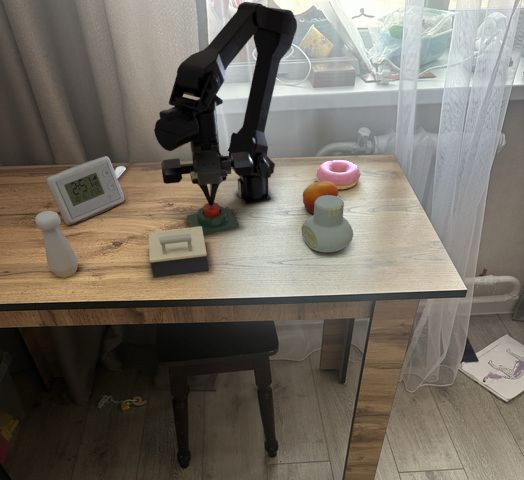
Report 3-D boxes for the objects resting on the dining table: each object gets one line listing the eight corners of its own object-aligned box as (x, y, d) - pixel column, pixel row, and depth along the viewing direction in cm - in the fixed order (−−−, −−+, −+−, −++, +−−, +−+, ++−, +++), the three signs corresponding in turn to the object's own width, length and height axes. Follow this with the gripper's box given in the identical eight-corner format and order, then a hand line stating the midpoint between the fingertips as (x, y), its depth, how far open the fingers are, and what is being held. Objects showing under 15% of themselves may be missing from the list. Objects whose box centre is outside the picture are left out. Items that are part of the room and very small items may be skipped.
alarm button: (217, 208, 115) (216, 201, 113) (222, 215, 112) (221, 208, 111) (202, 211, 114) (201, 204, 113) (206, 218, 111) (205, 211, 110)
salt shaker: (55, 264, 105) (33, 207, 96) (82, 262, 105) (64, 205, 96) (49, 281, 101) (26, 223, 91) (78, 279, 101) (58, 221, 92)
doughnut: (320, 170, 133) (321, 154, 130) (362, 174, 130) (364, 158, 128) (311, 189, 125) (312, 173, 122) (356, 194, 123) (358, 178, 120)
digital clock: (65, 229, 115) (51, 186, 107) (52, 211, 120) (38, 168, 112) (131, 208, 121) (123, 166, 113) (117, 192, 126) (107, 151, 118)
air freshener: (297, 237, 110) (298, 194, 103) (330, 227, 112) (333, 185, 105) (321, 262, 103) (324, 219, 96) (356, 252, 105) (361, 209, 98)
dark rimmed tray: (208, 271, 102) (206, 254, 99) (153, 278, 100) (150, 261, 98) (204, 244, 109) (202, 228, 106) (152, 250, 108) (149, 234, 105)
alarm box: (228, 211, 119) (227, 199, 117) (239, 228, 113) (238, 216, 111) (187, 219, 116) (185, 208, 114) (196, 237, 111) (194, 225, 109)
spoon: (132, 168, 136) (131, 166, 136) (107, 200, 124) (107, 198, 123) (113, 167, 137) (112, 165, 137) (87, 199, 124) (86, 197, 124)
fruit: (319, 219, 112) (310, 183, 110) (302, 222, 119) (294, 188, 117) (349, 210, 115) (341, 174, 112) (331, 213, 122) (323, 180, 120)
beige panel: (206, 255, 98) (204, 237, 96) (150, 262, 97) (146, 244, 94) (201, 228, 106) (199, 210, 103) (149, 234, 105) (145, 216, 102)
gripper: (157, 154, 94) (170, 228, 105) (256, 144, 96) (259, 218, 107) (156, 131, 102) (168, 202, 113) (247, 123, 104) (250, 193, 115)
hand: (211, 204), depth 111 cm, fingers closed
